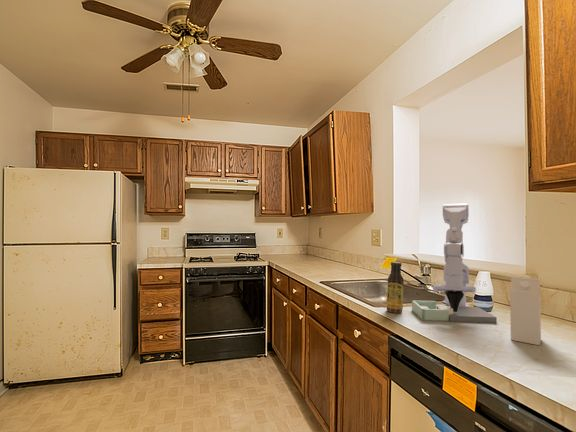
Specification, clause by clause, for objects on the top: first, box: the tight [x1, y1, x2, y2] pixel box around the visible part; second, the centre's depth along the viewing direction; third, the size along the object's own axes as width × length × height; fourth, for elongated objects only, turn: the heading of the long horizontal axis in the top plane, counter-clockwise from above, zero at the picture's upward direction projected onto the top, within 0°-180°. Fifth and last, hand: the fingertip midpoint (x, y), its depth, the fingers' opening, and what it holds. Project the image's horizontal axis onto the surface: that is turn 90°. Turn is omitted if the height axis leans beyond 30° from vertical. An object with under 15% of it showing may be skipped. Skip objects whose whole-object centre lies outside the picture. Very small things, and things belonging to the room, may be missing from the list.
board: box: [436, 305, 497, 324], centre depth 125 cm, size 14×16×2 cm
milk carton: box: [509, 275, 542, 346], centre depth 101 cm, size 7×7×19 cm
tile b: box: [438, 305, 453, 315], centre depth 123 cm, size 4×4×2 cm
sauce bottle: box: [386, 261, 404, 314], centre depth 132 cm, size 7×6×20 cm
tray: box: [411, 300, 450, 322], centre depth 127 cm, size 14×9×4 cm, turn 174°
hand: (454, 311), depth 122 cm, fingers closed
